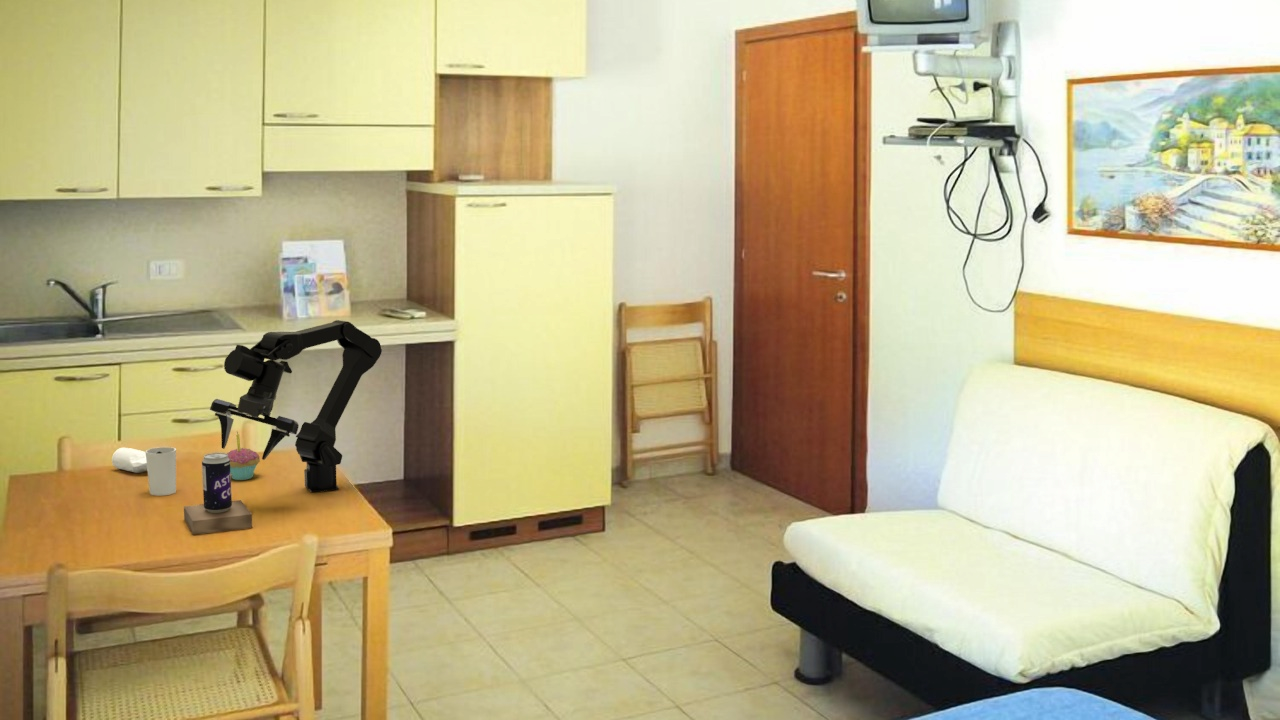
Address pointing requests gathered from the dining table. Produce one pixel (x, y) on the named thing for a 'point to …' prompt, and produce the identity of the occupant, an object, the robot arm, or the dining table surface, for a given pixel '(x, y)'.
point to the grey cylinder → (161, 470)
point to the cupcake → (242, 462)
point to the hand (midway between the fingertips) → (243, 454)
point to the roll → (130, 460)
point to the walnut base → (217, 518)
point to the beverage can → (216, 482)
